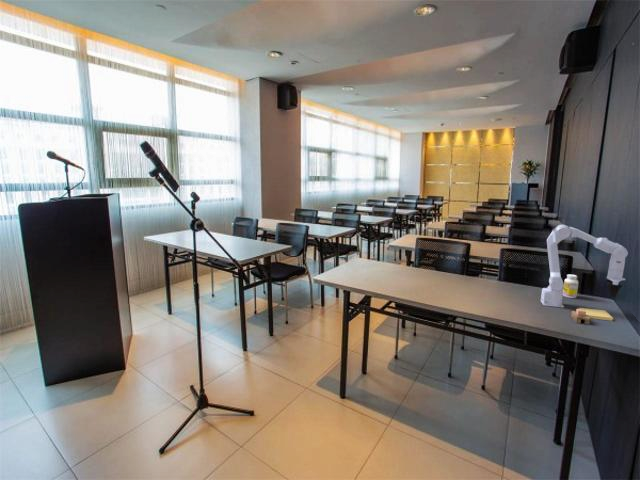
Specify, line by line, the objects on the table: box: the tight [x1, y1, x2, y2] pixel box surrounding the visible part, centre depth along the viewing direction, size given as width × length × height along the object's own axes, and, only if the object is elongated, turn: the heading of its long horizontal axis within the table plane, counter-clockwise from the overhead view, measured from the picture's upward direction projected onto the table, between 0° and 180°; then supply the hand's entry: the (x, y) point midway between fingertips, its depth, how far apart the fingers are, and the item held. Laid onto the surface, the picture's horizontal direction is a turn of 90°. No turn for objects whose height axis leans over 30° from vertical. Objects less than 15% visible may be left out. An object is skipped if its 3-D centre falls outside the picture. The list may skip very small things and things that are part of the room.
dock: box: [578, 307, 614, 322], centre depth 171 cm, size 11×10×2 cm
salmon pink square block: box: [575, 308, 586, 316], centre depth 165 cm, size 3×3×2 cm
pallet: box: [570, 310, 591, 325], centre depth 166 cm, size 5×8×3 cm, turn 158°
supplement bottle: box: [563, 273, 579, 299], centre depth 197 cm, size 7×7×13 cm
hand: (611, 294), depth 172 cm, fingers open, 7 cm apart
